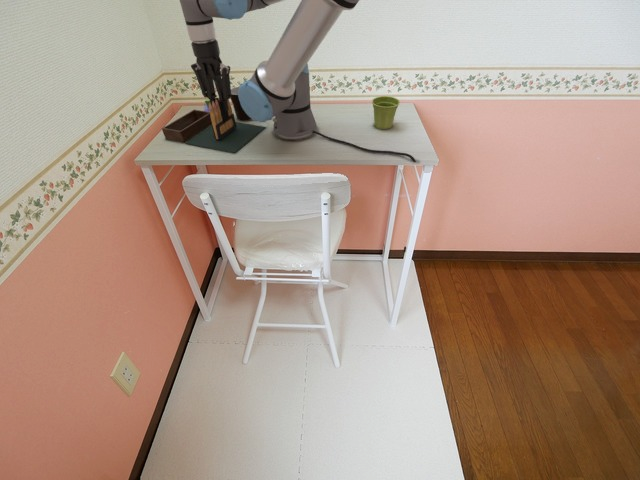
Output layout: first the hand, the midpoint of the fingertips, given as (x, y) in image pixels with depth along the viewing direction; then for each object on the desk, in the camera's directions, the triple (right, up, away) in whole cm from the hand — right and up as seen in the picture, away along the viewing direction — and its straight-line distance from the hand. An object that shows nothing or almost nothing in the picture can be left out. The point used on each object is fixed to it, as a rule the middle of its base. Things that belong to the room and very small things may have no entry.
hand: (222, 119), depth 112 cm
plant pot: (+56, -1, +6) cm, 56 cm away
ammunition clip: (0, -4, +4) cm, 5 cm away
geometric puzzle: (-8, +7, +17) cm, 20 cm away
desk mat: (0, -4, +4) cm, 6 cm away
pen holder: (-14, -1, +8) cm, 16 cm away
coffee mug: (+5, +7, +16) cm, 18 cm away
